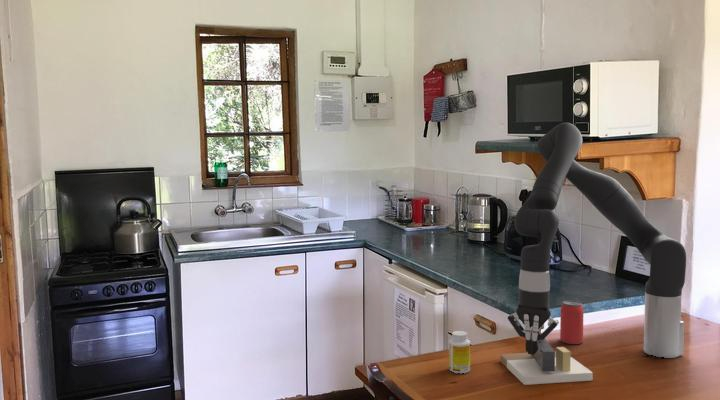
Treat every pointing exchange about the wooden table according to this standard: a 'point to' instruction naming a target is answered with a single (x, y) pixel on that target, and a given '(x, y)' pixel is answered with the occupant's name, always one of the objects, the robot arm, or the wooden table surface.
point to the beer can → (571, 322)
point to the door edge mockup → (532, 373)
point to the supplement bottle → (459, 352)
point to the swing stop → (545, 356)
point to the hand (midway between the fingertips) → (531, 353)
